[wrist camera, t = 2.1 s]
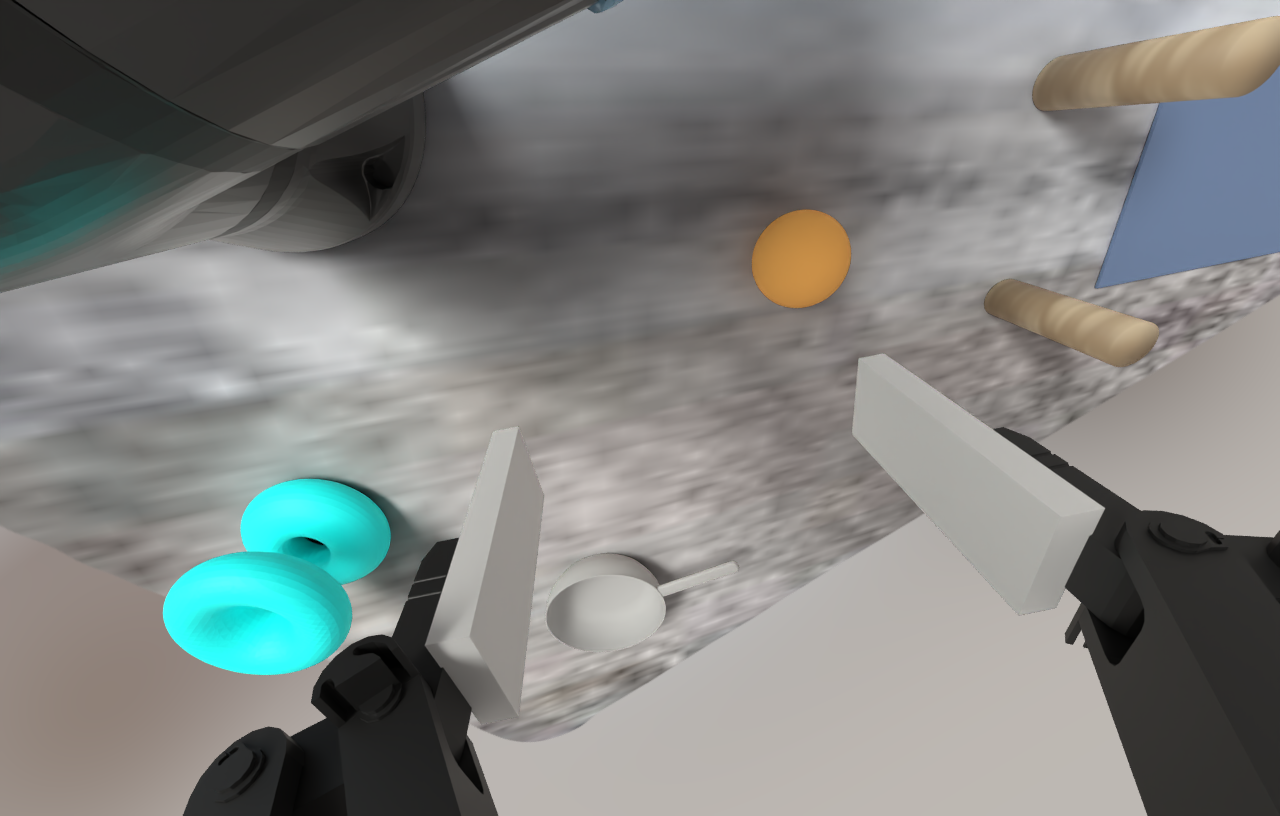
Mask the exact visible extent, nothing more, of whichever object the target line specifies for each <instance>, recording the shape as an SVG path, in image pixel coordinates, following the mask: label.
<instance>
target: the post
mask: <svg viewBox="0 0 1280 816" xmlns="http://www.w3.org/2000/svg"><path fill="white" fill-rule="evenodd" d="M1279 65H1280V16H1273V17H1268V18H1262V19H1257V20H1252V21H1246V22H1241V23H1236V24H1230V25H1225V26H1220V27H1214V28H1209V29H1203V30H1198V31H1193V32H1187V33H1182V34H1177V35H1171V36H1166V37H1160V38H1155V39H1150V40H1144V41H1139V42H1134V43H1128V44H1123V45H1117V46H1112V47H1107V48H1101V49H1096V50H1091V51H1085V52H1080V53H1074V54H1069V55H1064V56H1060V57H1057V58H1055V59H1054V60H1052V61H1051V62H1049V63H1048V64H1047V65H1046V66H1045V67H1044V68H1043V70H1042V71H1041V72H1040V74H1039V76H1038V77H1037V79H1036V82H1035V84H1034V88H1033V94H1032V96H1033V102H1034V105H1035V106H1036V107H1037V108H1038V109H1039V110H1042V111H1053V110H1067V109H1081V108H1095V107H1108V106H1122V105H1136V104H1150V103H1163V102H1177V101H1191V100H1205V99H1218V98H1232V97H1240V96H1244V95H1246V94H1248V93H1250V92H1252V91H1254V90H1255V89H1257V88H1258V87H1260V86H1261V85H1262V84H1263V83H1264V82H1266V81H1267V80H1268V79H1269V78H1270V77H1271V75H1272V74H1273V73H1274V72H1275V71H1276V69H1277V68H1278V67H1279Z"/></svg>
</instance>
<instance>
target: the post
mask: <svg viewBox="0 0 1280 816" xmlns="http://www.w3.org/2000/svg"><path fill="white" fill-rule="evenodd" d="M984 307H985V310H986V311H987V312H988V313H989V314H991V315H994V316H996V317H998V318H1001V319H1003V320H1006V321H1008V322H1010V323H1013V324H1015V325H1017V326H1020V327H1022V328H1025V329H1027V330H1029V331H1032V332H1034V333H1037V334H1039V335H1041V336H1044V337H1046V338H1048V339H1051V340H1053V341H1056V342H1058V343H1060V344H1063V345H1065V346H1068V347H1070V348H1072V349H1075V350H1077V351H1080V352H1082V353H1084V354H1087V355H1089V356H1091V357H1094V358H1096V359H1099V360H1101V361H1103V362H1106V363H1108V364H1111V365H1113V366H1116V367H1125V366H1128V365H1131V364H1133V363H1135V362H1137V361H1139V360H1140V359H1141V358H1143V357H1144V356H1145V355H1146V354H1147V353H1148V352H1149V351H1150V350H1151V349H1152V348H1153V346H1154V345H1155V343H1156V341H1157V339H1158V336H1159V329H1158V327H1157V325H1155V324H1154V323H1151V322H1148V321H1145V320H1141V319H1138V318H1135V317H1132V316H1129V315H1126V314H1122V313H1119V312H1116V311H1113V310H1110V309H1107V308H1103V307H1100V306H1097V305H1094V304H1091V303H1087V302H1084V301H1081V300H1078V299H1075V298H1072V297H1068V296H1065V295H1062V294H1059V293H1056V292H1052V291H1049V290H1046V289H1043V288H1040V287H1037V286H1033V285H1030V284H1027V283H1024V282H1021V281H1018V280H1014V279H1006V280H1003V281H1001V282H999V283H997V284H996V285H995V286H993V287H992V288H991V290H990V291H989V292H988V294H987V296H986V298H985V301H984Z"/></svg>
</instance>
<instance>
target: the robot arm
mask: <svg viewBox="0 0 1280 816" xmlns="http://www.w3.org/2000/svg"><path fill="white" fill-rule="evenodd" d="M622 1H623V0H0V293H2V292H6V291H10V290H14V289H18V288H22V287H25V286H29V285H33V284H37V283H41V282H45V281H49V280H53V279H57V278H61V277H65V276H68V275H72V274H76V273H80V272H84V271H88V270H92V269H96V268H100V267H104V266H107V265H111V264H115V263H119V262H123V261H127V260H131V259H135V258H139V257H143V256H147V255H151V254H155V253H159V252H163V251H167V250H171V249H175V248H178V247H182V246H186V245H191V244H194V243H198V242H202V241H206V240H212V241H218V242H223V243H229V244H234V245H239V246H245V247H250V248H256V249H261V250H268V251H276V252H308V251H317V250H323V249H328V248H332V247H336V246H339V245H342V244H344V243H347V242H349V241H352V240H354V239H357V238H359V237H361V236H364V235H366V234H368V233H370V232H372V231H373V230H375V229H377V228H378V227H380V226H381V225H382V224H384V223H385V222H386V221H387V220H388V219H390V218H391V217H392V216H393V215H394V214H395V213H396V212H397V210H398V209H399V208H400V207H401V205H402V204H403V203H404V201H405V200H406V198H407V197H408V195H409V193H410V191H411V190H412V188H413V185H414V183H415V181H416V179H417V176H418V173H419V170H420V166H421V162H422V158H423V152H424V146H425V135H426V118H425V105H424V97H423V91H425V90H427V89H429V88H431V87H433V86H435V85H437V84H439V83H441V82H443V81H445V80H447V79H449V78H451V77H453V76H455V75H457V74H459V73H461V72H463V71H465V70H467V69H469V68H471V67H473V66H474V65H476V64H478V63H480V62H482V61H484V60H486V59H488V58H490V57H492V56H494V55H496V54H498V53H500V52H502V51H504V50H506V49H508V48H510V47H512V46H514V45H516V44H518V43H520V42H522V41H524V40H526V39H528V38H530V37H532V36H533V35H535V34H537V33H539V32H541V31H543V30H545V29H547V28H549V27H551V26H553V25H555V24H557V23H559V22H561V21H563V20H565V19H567V18H569V17H571V16H573V15H575V14H577V13H579V12H581V11H583V10H585V9H589V10H590V11H592V12H593V13H600V12H602V11H605V10H607V9H610V8H612V7H614V6H616V5H617V4H619V3H620V2H622ZM852 435H853V436H854V437H855V438H856V439H857V440H858V441H859V442H860V443H861V445H862V446H863V447H864V448H865V449H866V450H867V451H868V452H869V453H870V454H871V455H872V457H873V458H874V459H875V460H876V461H877V462H878V463H879V464H880V465H881V466H882V467H883V469H884V470H885V471H886V472H887V473H888V474H889V475H890V476H891V477H892V478H893V479H894V481H895V482H896V483H897V484H898V485H899V486H900V487H901V488H902V489H903V490H904V491H905V492H906V494H907V495H908V496H909V497H910V498H911V499H912V500H913V501H914V502H915V503H916V504H917V506H918V507H919V508H920V509H921V510H922V511H923V512H924V513H925V514H926V515H927V516H928V518H929V519H930V520H931V521H932V522H933V523H934V524H935V525H936V526H937V527H938V528H939V529H940V530H941V532H942V533H943V534H944V535H945V536H946V537H947V538H948V539H949V540H950V541H951V542H952V544H953V545H954V546H955V547H956V548H957V549H958V550H959V551H960V552H961V553H962V555H963V556H964V557H965V558H966V559H967V560H968V561H969V562H970V563H971V564H972V565H973V566H974V567H975V569H976V570H977V571H978V572H979V573H980V574H981V575H982V576H983V577H984V578H985V580H986V581H987V582H988V583H989V584H990V585H991V586H992V587H993V588H994V589H995V590H996V592H997V593H998V594H999V595H1000V596H1001V597H1002V598H1003V599H1004V600H1005V601H1006V602H1007V603H1008V605H1009V606H1010V607H1011V608H1012V609H1013V610H1014V611H1015V612H1016V613H1017V614H1018V615H1019V616H1020V615H1025V614H1030V613H1035V612H1040V611H1045V610H1049V609H1054V608H1056V607H1057V605H1058V603H1059V601H1060V599H1061V597H1062V595H1063V593H1064V591H1065V589H1067V590H1068V591H1070V592H1071V593H1072V594H1073V595H1074V596H1075V597H1076V598H1077V599H1078V600H1079V601H1080V602H1081V604H1080V606H1079V608H1078V610H1077V612H1076V614H1075V616H1074V618H1073V619H1072V621H1071V623H1070V625H1069V627H1068V629H1067V631H1066V632H1065V642H1066V643H1067V644H1072V645H1073V644H1074V642H1075V640H1076V638H1077V636H1078V634H1079V633H1080V631H1081V630H1082V633H1083V636H1084V638H1085V643H1084V645H1083V647H1084V648H1088V649H1089V652H1090V655H1091V658H1092V661H1093V664H1094V666H1095V669H1096V672H1097V675H1098V678H1099V680H1100V683H1101V686H1102V689H1103V692H1104V694H1105V697H1106V700H1107V703H1108V706H1109V708H1110V711H1111V714H1112V717H1113V720H1114V723H1115V725H1116V728H1117V731H1118V734H1119V737H1120V740H1121V742H1122V745H1123V748H1124V751H1125V754H1126V756H1127V759H1128V762H1129V765H1130V768H1131V770H1132V773H1133V776H1134V779H1135V782H1136V784H1137V787H1138V790H1139V793H1140V796H1141V799H1142V801H1143V804H1144V807H1145V810H1146V813H1147V815H1148V816H1280V531H1279V532H1278V533H1277V534H1276V536H1275V537H1274V538H1272V537H1251V536H1234V535H1233V536H1232V535H1223V534H1222V533H1220V532H1218V531H1216V530H1215V529H1213V528H1211V527H1209V526H1208V525H1206V524H1204V523H1201V522H1199V521H1196V520H1194V519H1191V518H1188V517H1185V516H1183V515H1178V514H1174V513H1169V512H1164V511H1146V510H1144V511H1140V510H1139V509H1137V508H1136V507H1134V506H1132V505H1131V504H1129V503H1128V502H1126V501H1125V500H1124V499H1122V498H1121V497H1119V496H1117V495H1116V494H1114V493H1113V492H1111V491H1110V490H1108V489H1107V488H1105V487H1104V486H1102V485H1101V484H1099V483H1098V482H1096V481H1094V480H1093V479H1091V478H1090V477H1089V476H1087V475H1086V474H1084V473H1083V472H1081V471H1080V470H1078V469H1077V468H1075V467H1074V466H1069V465H1068V462H1066V461H1064V460H1063V459H1061V458H1060V457H1058V456H1057V455H1055V454H1054V455H1052V454H1051V451H1049V450H1048V449H1046V448H1045V447H1043V446H1042V445H1040V444H1039V443H1037V442H1036V441H1034V440H1033V439H1031V438H1030V437H1027V436H1025V435H1022V434H1019V433H1017V432H1014V431H1012V430H1009V429H1007V428H1004V427H1002V428H997V429H991V428H990V427H988V426H987V425H986V424H984V423H983V422H981V421H980V420H978V419H977V418H976V417H974V416H973V415H971V414H970V413H968V412H967V411H966V410H964V409H963V408H961V407H960V406H959V405H957V404H956V403H954V402H953V401H951V400H950V399H949V398H947V397H946V396H944V395H943V394H941V393H940V392H939V391H937V390H936V389H934V388H933V387H931V386H930V385H929V384H927V383H926V382H924V381H923V380H921V379H920V378H919V377H917V376H916V375H914V374H913V373H911V372H910V371H909V370H907V369H906V368H904V367H903V366H901V365H900V364H899V363H897V362H896V361H894V360H893V359H891V358H890V357H889V356H887V355H886V354H884V353H883V354H878V355H873V356H868V357H863V358H859V361H858V372H857V383H856V394H855V405H854V416H853V428H852ZM543 503H544V493H543V491H542V488H541V485H540V483H539V480H538V477H537V474H536V472H535V469H534V466H533V464H532V461H531V458H530V455H529V453H528V450H527V447H526V445H525V442H524V439H523V436H522V434H521V431H520V428H519V426H517V427H512V428H507V429H502V430H497V431H493V434H492V437H491V440H490V443H489V446H488V449H487V452H486V456H485V459H484V462H483V465H482V468H481V471H480V474H479V477H478V481H477V484H476V487H475V490H474V493H473V496H472V499H471V503H470V506H469V509H468V512H467V515H466V518H465V521H464V524H463V528H462V531H461V534H460V537H459V538H455V539H450V540H445V541H440V542H437V543H436V544H435V545H434V547H433V548H432V549H431V550H430V552H429V553H428V554H427V555H426V556H425V558H424V559H423V560H422V562H421V565H420V567H419V570H418V572H417V575H416V577H415V580H414V582H415V584H413V585H412V588H411V590H410V593H409V595H408V601H406V603H405V605H404V608H403V611H402V613H401V616H400V618H399V621H398V623H397V626H396V628H395V631H394V634H393V636H392V637H388V636H385V635H375V636H369V637H366V638H364V639H362V640H359V641H357V642H355V643H353V644H351V645H350V646H349V647H347V648H346V649H345V650H343V651H342V652H341V653H339V654H338V655H337V656H336V657H335V658H334V659H333V660H332V661H331V662H330V663H329V665H328V666H327V667H326V668H325V669H324V670H323V671H322V673H321V675H320V677H319V679H318V681H317V682H316V684H315V686H314V688H313V694H312V699H311V703H312V704H313V705H314V706H315V707H316V708H317V709H318V710H319V711H320V712H321V713H322V714H323V715H325V716H326V717H327V718H326V719H324V720H322V721H320V722H318V723H316V724H314V725H312V726H310V727H308V728H306V729H304V730H302V731H301V732H299V733H297V734H295V735H293V736H291V737H290V736H288V735H287V734H286V733H285V732H284V731H282V730H281V729H279V728H274V727H265V728H262V729H258V730H255V731H252V732H250V733H249V734H247V735H245V736H244V737H242V738H241V739H239V740H237V741H236V742H234V743H233V744H232V745H231V746H230V747H228V748H227V749H226V750H225V751H224V752H223V753H222V754H220V755H219V756H218V757H217V758H216V759H215V760H214V762H213V763H212V764H211V765H210V766H209V768H208V769H207V770H206V771H205V773H204V774H203V775H202V776H201V778H200V779H199V781H198V783H197V785H196V787H195V789H194V791H193V792H192V794H191V796H190V798H189V801H188V804H187V807H186V809H185V811H184V814H183V816H498V814H497V811H496V808H495V805H494V802H493V799H492V797H491V794H490V791H489V788H488V785H487V782H486V780H485V777H484V774H483V771H482V768H481V766H480V763H479V760H478V757H477V754H476V752H475V749H474V746H473V743H472V742H471V741H470V739H469V737H468V736H467V730H468V725H469V720H470V715H471V711H472V712H473V714H474V715H475V717H476V718H477V720H478V721H479V722H480V724H481V725H482V724H487V723H492V722H497V721H502V720H507V719H512V718H517V717H519V711H520V702H521V693H522V685H523V676H524V667H525V659H526V650H527V641H528V633H529V624H530V616H531V607H532V598H533V590H534V581H535V572H536V564H537V555H538V546H539V538H540V529H541V521H542V512H543Z"/></svg>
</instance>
